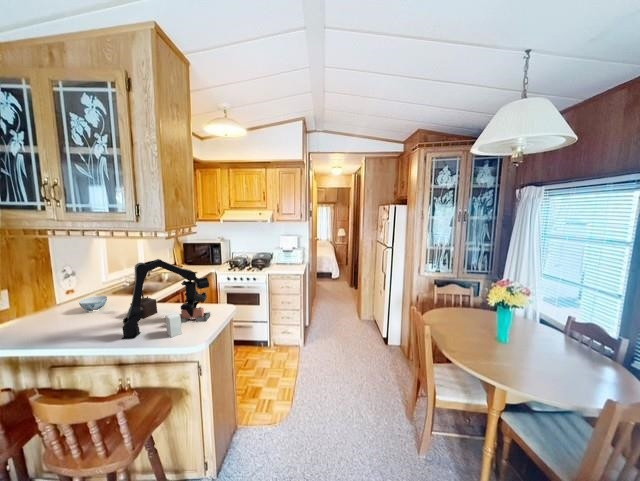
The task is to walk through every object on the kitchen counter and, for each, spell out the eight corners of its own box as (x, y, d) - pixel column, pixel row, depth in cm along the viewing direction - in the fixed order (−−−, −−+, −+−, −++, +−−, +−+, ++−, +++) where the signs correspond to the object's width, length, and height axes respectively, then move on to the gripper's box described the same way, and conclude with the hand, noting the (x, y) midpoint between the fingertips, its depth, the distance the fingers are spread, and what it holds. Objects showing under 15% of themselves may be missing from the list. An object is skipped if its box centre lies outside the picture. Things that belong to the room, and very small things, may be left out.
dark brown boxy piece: (158, 312, 180) (156, 286, 178) (143, 319, 169) (140, 291, 167) (141, 310, 185) (138, 284, 182) (125, 316, 174) (122, 289, 172)
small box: (182, 334, 148) (180, 315, 146) (171, 337, 144) (169, 318, 143) (177, 329, 153) (176, 311, 152) (166, 332, 150) (164, 314, 148)
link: (181, 318, 164) (181, 309, 163) (184, 316, 168) (183, 307, 167) (202, 317, 165) (201, 308, 165) (204, 315, 169) (203, 306, 168)
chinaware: (101, 305, 196) (100, 294, 195) (112, 308, 190) (111, 297, 189) (75, 312, 183) (74, 301, 182) (87, 315, 176) (85, 304, 175)
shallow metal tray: (175, 323, 162) (174, 319, 162) (180, 317, 170) (180, 314, 169) (206, 321, 164) (206, 317, 163) (210, 316, 171) (210, 312, 171)
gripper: (199, 295, 156) (201, 320, 158) (209, 285, 174) (210, 309, 176) (179, 296, 155) (181, 321, 157) (191, 286, 173) (193, 309, 175)
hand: (192, 315), depth 166 cm, fingers closed on link, 3 cm apart
